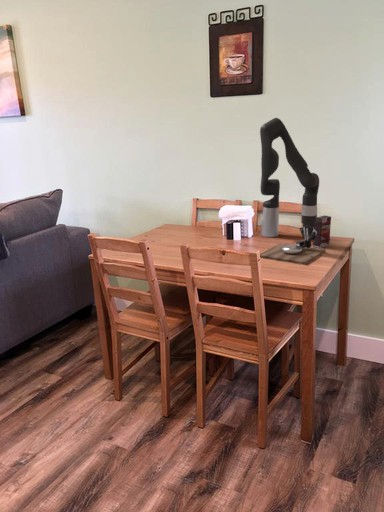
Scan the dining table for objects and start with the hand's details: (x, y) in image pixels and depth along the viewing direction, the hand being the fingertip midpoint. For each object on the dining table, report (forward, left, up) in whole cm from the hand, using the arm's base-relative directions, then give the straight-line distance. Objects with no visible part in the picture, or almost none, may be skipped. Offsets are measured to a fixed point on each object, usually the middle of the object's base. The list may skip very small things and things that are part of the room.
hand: (308, 247), depth 217 cm
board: (-5, -7, -3) cm, 9 cm away
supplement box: (+2, +15, -3) cm, 15 cm away
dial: (-5, -5, -1) cm, 7 cm away
